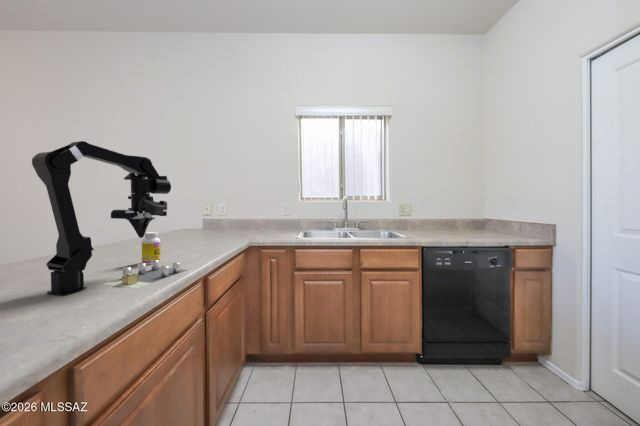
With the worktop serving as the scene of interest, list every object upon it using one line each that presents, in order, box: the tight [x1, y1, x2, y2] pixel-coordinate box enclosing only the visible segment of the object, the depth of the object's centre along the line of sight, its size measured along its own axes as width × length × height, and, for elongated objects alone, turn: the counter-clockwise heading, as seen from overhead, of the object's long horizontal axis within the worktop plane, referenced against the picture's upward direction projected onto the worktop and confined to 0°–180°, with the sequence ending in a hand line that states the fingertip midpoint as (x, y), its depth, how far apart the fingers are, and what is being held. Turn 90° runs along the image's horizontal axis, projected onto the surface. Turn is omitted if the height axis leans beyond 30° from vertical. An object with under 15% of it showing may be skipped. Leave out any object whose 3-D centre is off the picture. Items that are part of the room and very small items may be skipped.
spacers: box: [121, 260, 181, 278], centre depth 102 cm, size 14×12×4 cm
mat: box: [101, 267, 188, 289], centre depth 100 cm, size 23×13×1 cm, turn 166°
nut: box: [121, 273, 139, 285], centre depth 93 cm, size 4×5×2 cm
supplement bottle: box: [141, 231, 162, 266], centre depth 121 cm, size 7×7×13 cm
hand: (141, 237), depth 105 cm, fingers closed
